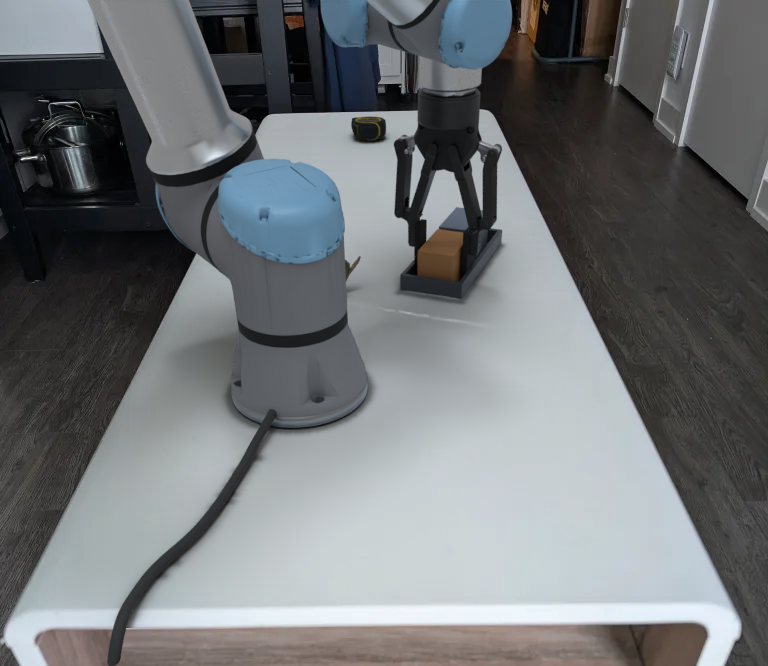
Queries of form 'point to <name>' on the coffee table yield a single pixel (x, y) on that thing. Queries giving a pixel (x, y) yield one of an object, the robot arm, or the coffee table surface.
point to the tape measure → (368, 128)
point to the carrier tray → (447, 287)
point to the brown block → (441, 256)
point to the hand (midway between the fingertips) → (443, 272)
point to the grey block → (462, 226)
